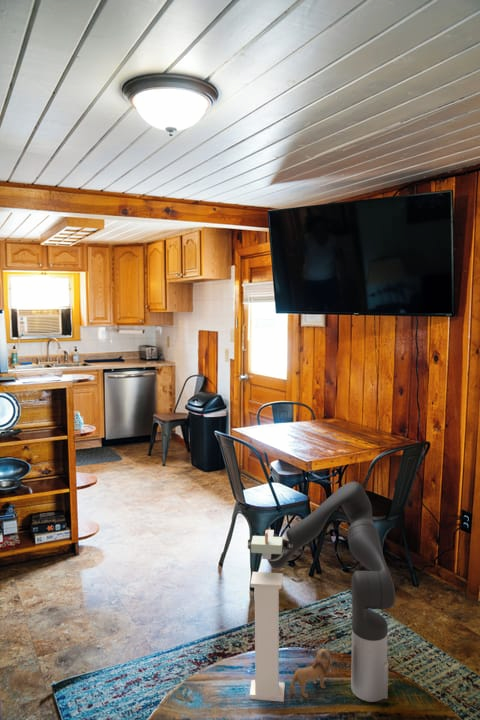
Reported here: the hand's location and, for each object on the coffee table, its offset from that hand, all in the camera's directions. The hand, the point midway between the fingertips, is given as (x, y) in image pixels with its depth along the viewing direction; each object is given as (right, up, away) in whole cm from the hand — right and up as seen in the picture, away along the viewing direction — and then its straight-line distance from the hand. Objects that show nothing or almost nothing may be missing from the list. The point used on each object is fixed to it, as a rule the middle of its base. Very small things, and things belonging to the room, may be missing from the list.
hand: (267, 542), depth 149 cm
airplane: (0, -2, +1) cm, 2 cm away
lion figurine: (+11, -39, -1) cm, 41 cm away
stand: (0, -39, -3) cm, 39 cm away
